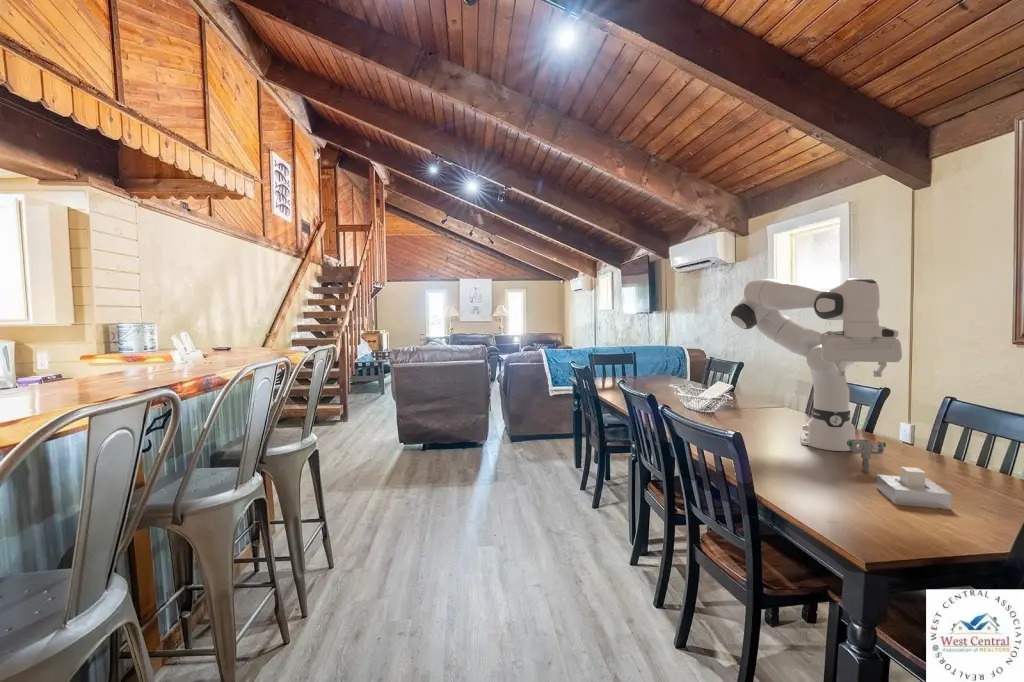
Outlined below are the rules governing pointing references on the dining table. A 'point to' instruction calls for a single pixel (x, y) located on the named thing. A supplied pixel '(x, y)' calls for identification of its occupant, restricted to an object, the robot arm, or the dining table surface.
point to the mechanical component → (866, 450)
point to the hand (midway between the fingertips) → (859, 376)
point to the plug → (912, 477)
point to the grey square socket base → (914, 493)
